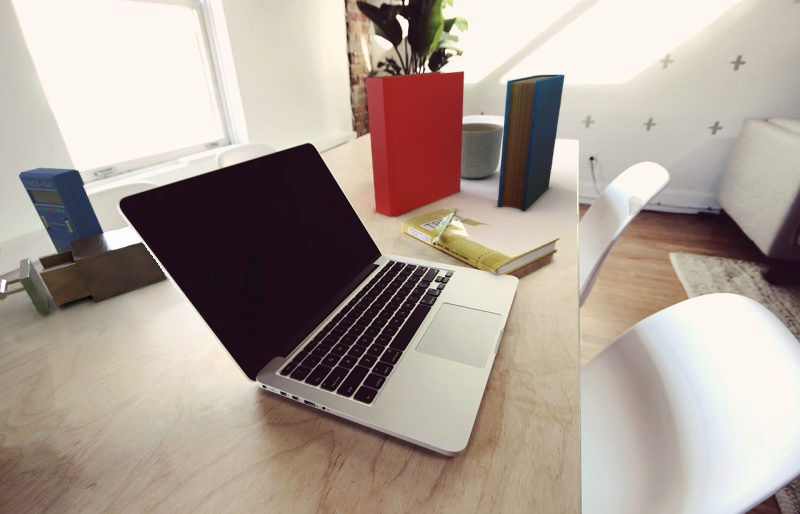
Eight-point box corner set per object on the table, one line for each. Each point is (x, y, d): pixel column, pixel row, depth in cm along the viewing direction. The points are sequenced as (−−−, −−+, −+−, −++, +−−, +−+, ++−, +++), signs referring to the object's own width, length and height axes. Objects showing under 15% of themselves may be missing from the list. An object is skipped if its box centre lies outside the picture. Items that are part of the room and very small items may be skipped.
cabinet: (95, 302, 67) (74, 260, 63) (88, 281, 74) (69, 241, 70) (166, 278, 73) (151, 239, 69) (154, 261, 80) (140, 224, 76)
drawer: (7, 324, 60) (-16, 289, 57) (9, 301, 67) (-11, 267, 64) (114, 290, 69) (99, 257, 65) (107, 272, 75) (93, 241, 72)
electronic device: (63, 269, 78) (13, 173, 69) (87, 258, 83) (44, 166, 73) (97, 274, 76) (50, 175, 67) (120, 262, 80) (80, 168, 71)
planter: (438, 173, 131) (438, 126, 124) (477, 165, 138) (479, 121, 131) (468, 185, 118) (470, 133, 111) (510, 176, 125) (514, 127, 118)
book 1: (439, 186, 118) (440, 71, 103) (460, 191, 113) (464, 71, 98) (373, 210, 102) (362, 78, 87) (393, 217, 96) (386, 78, 82)
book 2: (522, 182, 119) (533, 74, 105) (551, 185, 114) (567, 73, 100) (492, 206, 101) (500, 80, 87) (525, 211, 97) (539, 80, 83)
